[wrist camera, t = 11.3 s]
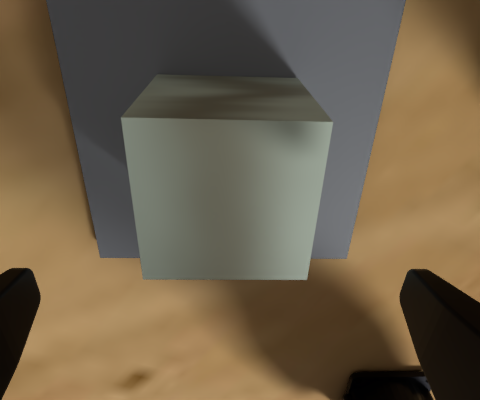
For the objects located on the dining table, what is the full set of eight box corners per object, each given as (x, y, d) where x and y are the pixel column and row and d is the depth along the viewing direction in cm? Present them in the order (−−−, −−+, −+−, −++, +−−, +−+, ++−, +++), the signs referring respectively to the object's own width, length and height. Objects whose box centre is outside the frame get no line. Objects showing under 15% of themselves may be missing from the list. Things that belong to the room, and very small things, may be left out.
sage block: (297, 78, 15) (333, 122, 10) (284, 198, 18) (307, 279, 13) (157, 74, 15) (120, 117, 10) (167, 197, 18) (142, 279, 13)
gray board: (401, -28, 15) (413, -29, 14) (341, 248, 22) (347, 259, 21) (48, -41, 14) (35, -43, 13) (105, 246, 21) (99, 258, 20)
